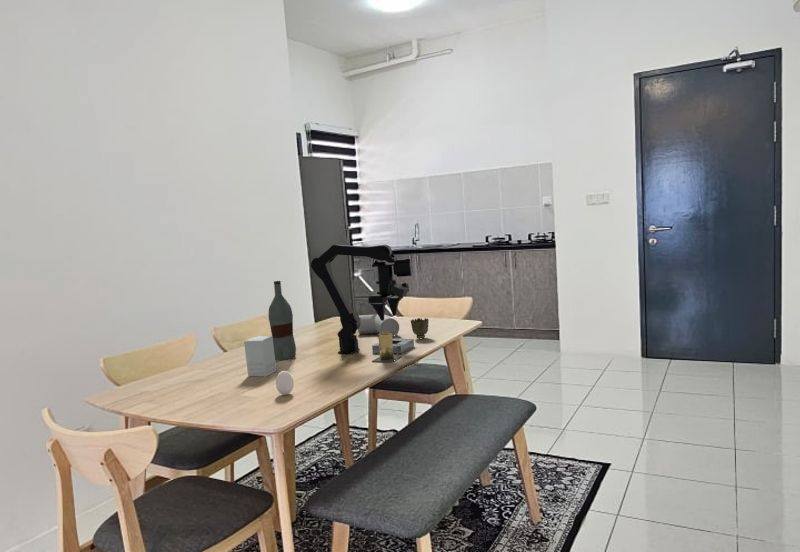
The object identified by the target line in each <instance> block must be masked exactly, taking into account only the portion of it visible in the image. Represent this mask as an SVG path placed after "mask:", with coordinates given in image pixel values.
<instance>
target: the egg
mask: <svg viewBox="0 0 800 552" xmlns="http://www.w3.org/2000/svg"><path fill="white" fill-rule="evenodd" d="M294 385H295V383H294V378H293V376H292V374H291V373H290V372H289V371H287V370H282V371H280V372H279V373H278V374H277V376H276V379H275V387H276V390H277V391H278V393H280V394H281V395H283V396H286V395H287V396H288V395H289V394H290V393H291V392H292V391H293V390H294Z"/></svg>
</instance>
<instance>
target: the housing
mask: <svg viewBox="0 0 800 552" xmlns="http://www.w3.org/2000/svg"><path fill="white" fill-rule="evenodd" d="M392 343H393V353H402V354H404V353H406V352H407V351H409V350H411V349H412V347H413V346H414V347H415V341H414V338H392ZM371 346H372V347H371V348H372V354H380V348H379V341H378V342H377V343H373V344H372V345H371ZM414 347H413V348H414ZM410 348H411V349H410ZM408 349H409V350H408ZM406 350H407V351H406ZM405 351H406V352H405ZM403 352H404V353H403Z"/></svg>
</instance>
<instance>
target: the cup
mask: <svg viewBox="0 0 800 552" xmlns="http://www.w3.org/2000/svg"><path fill="white" fill-rule="evenodd" d="M410 325H411V330H412V333H413V334H414V335H415V337H416V339H417V338H424V337H425V338H426V334H427V333H428V330H429V319H428V318H427V317H425V318H421V317H420V318H419V317H418V318H412V319H411V320H410ZM425 338H424V339H425Z"/></svg>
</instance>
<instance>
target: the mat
mask: <svg viewBox="0 0 800 552" xmlns="http://www.w3.org/2000/svg"><path fill="white" fill-rule="evenodd" d="M393 356H394V358H393V359H391V360H381V359H380V356H378V357H376V358H375V359H372V360H371V363H384V362H393V361H394V360H396V359H398V358H399V359H401V358H403V357H402V355H393ZM400 357H401V358H400ZM399 359H398V360H399ZM396 361H397V360H396ZM394 362H395V361H394ZM394 362H393V363H394Z"/></svg>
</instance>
